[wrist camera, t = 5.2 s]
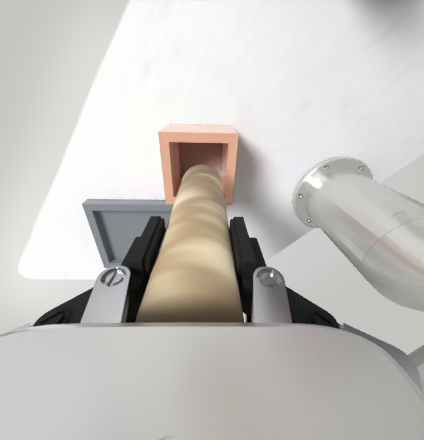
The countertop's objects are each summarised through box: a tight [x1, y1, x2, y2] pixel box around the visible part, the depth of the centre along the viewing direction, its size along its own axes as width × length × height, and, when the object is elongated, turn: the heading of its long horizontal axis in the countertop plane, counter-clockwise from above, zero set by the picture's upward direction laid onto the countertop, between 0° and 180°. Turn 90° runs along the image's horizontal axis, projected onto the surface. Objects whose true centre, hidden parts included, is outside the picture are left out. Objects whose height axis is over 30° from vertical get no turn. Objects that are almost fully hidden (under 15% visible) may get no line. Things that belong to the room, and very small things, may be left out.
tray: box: [82, 199, 174, 268], centre depth 36 cm, size 20×14×2 cm
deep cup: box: [158, 124, 239, 205], centre depth 27 cm, size 8×8×8 cm
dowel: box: [136, 164, 244, 323], centre depth 14 cm, size 4×4×15 cm
